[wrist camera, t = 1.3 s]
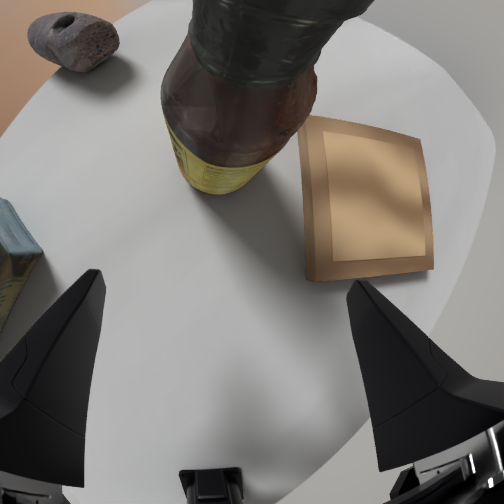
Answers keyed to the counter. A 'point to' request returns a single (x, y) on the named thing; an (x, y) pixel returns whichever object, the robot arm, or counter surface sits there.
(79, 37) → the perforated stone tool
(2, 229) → the beverage carton
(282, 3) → the sauce bottle
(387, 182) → the podium
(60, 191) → the counter surface
